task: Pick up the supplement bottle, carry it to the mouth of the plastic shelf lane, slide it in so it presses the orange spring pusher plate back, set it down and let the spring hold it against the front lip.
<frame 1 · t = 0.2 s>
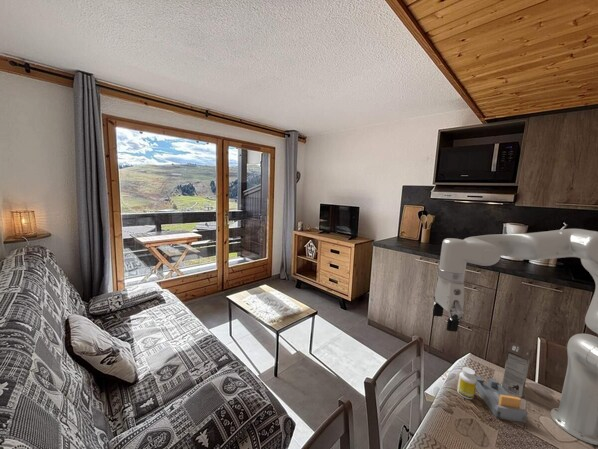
hand: (444, 322, 86), 30 cm above the table, fingers open, 9 cm apart
supplement bottle: (465, 394, 94), on the table
coffee box: (512, 387, 99), on the table
lane base: (499, 405, 90), on the table
pusher: (502, 396, 88), point 4 cm above the table, slide at 0.0 cm
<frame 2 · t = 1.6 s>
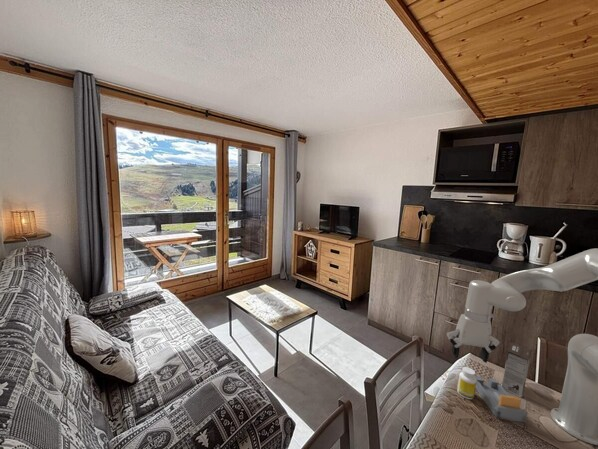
hand: (468, 357, 92), 15 cm above the table, fingers open, 9 cm apart
nothing on the table moved.
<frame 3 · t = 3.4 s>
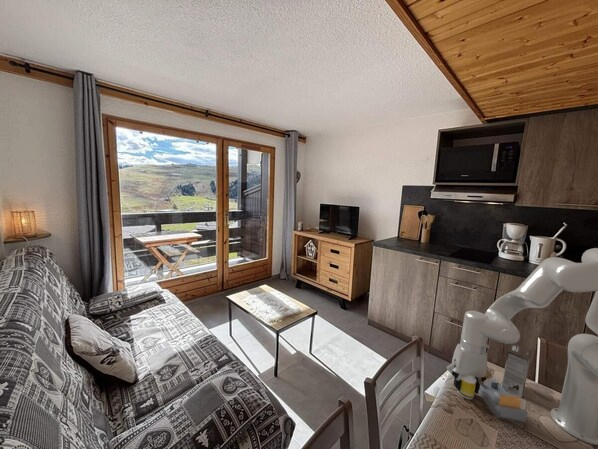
hand: (465, 389, 94), 2 cm above the table, fingers closed on supplement bottle, 5 cm apart
supplement bottle: (465, 394, 94), on the table, touching gripper
everything else where it was.
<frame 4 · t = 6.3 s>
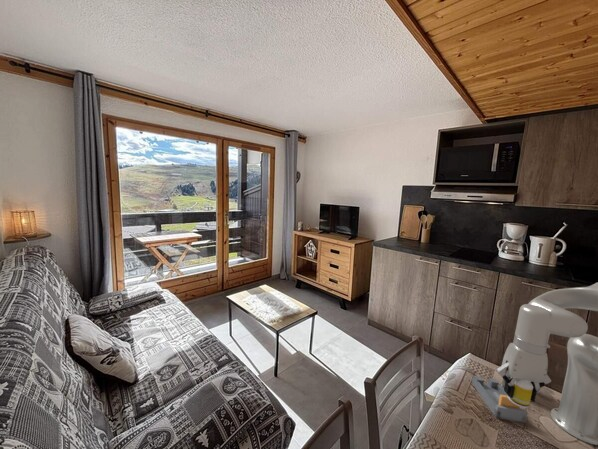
hand: (518, 395, 80), 11 cm above the table, fingers closed on supplement bottle, 5 cm apart
supplement bottle: (517, 402, 80), point 9 cm above the table, touching gripper
everything else where it was.
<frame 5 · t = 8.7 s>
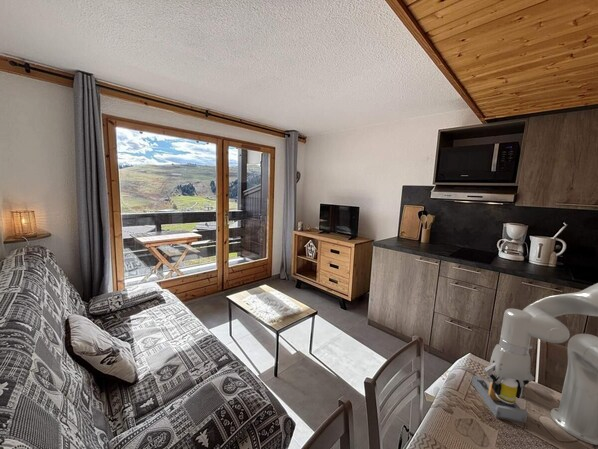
hand: (505, 393, 87), 6 cm above the table, fingers closed on supplement bottle, 5 cm apart
supplement bottle: (504, 398, 87), point 4 cm above the table, touching gripper, pusher
pusher: (492, 384, 94), point 4 cm above the table, slide at 5.8 cm, touching supplement bottle
everything else where it was.
when the fingers open (4 cm above the table, at t = 9.7 s): supplement bottle drops 1 cm, resting on lane base.
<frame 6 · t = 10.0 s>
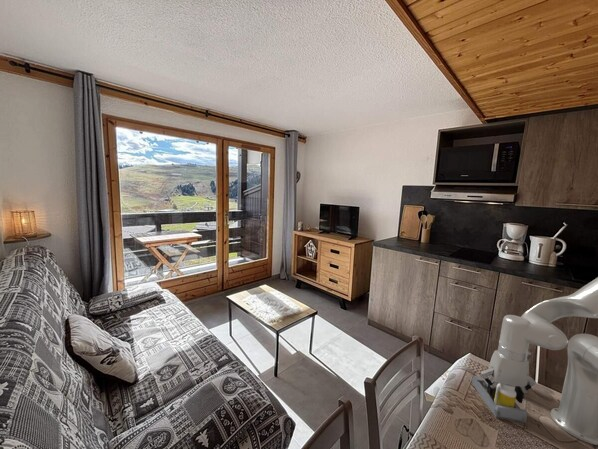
hand: (504, 397, 87), 4 cm above the table, fingers open, 8 cm apart
supplement bottle: (503, 408, 88), resting on lane base
pusher: (492, 384, 94), point 4 cm above the table, slide at 5.9 cm
everything else where it was.
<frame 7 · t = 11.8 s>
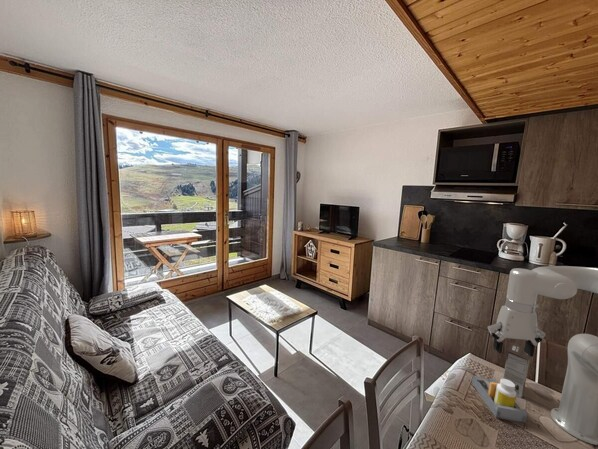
hand: (512, 352, 86), 21 cm above the table, fingers open, 9 cm apart
nothing on the table moved.
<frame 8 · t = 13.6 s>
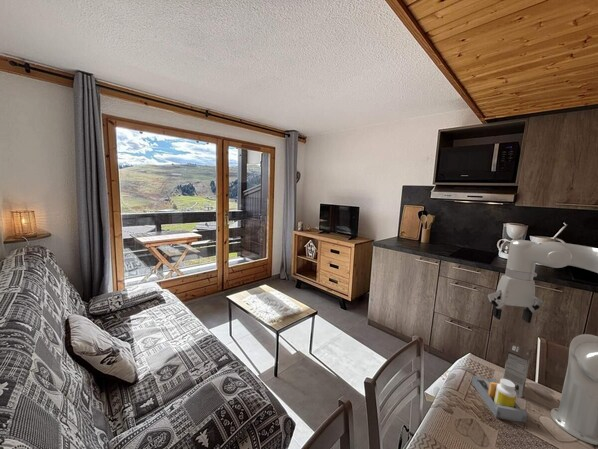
hand: (511, 319, 91), 30 cm above the table, fingers open, 9 cm apart
supplement bottle: (503, 408, 88), resting on lane base, touching pusher
pusher: (492, 384, 94), point 4 cm above the table, slide at 5.8 cm, touching supplement bottle
everything else where it was.
at the end: supplement bottle 0.6 cm from the target spot on the lane base, point 0.4 cm above the lane base's base; supplement bottle tilted 0°; pusher slide at 5.8 cm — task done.
